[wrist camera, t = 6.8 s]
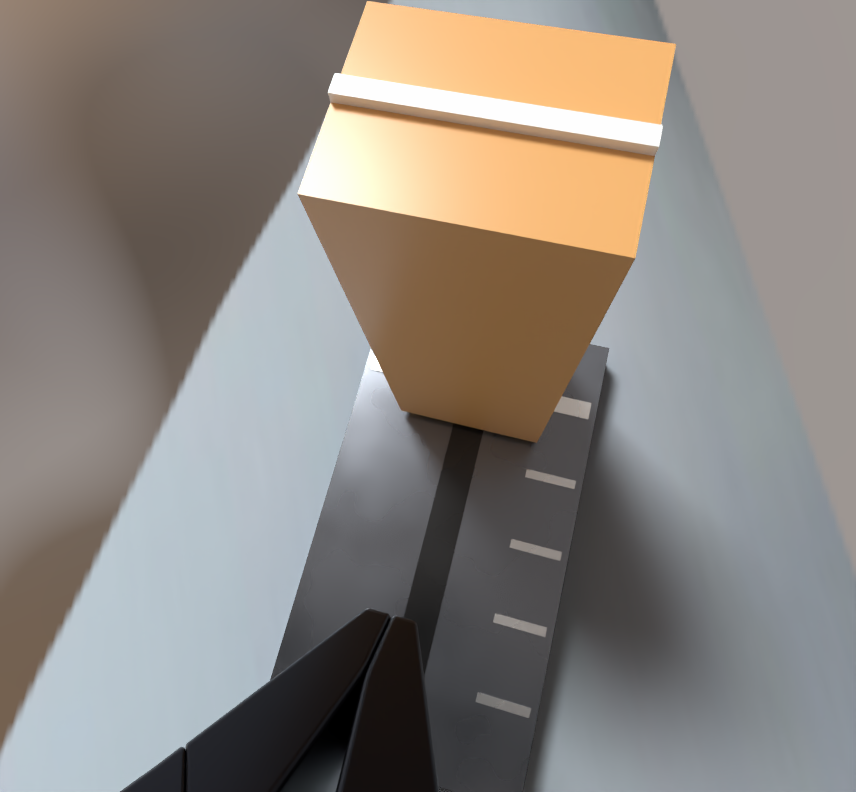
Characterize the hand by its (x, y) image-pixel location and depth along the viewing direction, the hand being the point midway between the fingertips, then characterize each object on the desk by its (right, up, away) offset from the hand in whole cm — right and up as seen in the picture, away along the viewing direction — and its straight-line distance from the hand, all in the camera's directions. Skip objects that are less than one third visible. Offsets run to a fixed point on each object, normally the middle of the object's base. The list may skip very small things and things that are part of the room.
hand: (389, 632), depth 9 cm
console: (+1, 0, +8) cm, 8 cm away
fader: (+2, +4, +8) cm, 9 cm away
